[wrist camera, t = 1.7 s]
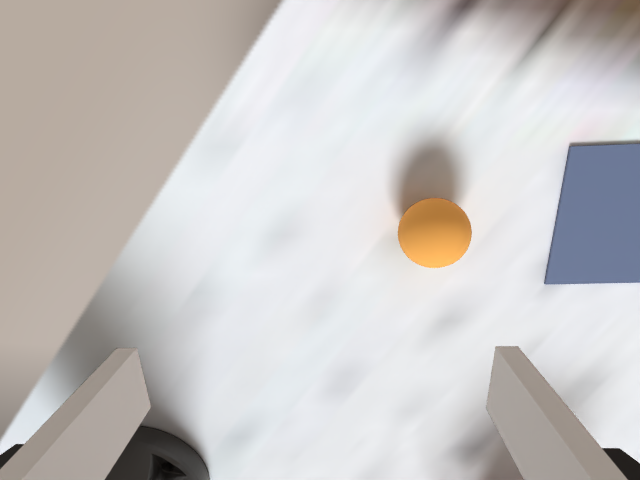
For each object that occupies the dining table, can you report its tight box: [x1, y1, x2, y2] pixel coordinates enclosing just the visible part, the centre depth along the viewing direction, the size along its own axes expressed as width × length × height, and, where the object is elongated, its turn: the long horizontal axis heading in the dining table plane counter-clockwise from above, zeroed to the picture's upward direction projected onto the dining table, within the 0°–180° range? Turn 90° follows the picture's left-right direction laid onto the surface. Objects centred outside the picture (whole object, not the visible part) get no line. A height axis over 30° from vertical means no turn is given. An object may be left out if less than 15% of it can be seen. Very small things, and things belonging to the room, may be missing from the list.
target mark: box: [544, 144, 640, 284], centre depth 29 cm, size 12×12×1 cm
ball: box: [398, 198, 472, 268], centre depth 27 cm, size 6×6×6 cm
